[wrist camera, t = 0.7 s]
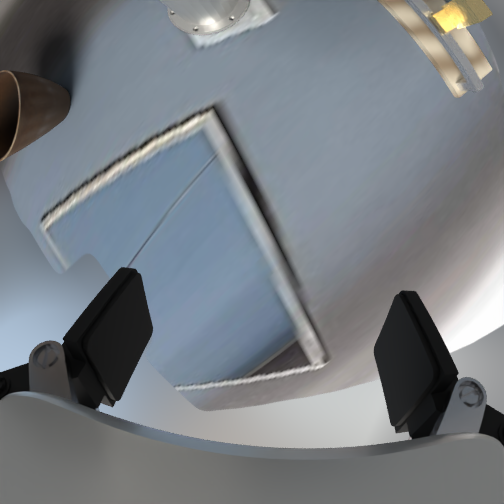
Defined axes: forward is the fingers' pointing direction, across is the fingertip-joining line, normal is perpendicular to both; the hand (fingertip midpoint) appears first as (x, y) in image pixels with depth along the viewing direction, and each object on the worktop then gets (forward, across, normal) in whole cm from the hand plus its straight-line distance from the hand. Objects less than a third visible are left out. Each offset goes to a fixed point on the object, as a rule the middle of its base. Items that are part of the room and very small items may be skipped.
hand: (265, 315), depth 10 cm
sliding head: (+32, -23, -27) cm, 48 cm away
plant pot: (+35, +42, -12) cm, 56 cm away
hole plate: (+35, -24, -28) cm, 51 cm away
